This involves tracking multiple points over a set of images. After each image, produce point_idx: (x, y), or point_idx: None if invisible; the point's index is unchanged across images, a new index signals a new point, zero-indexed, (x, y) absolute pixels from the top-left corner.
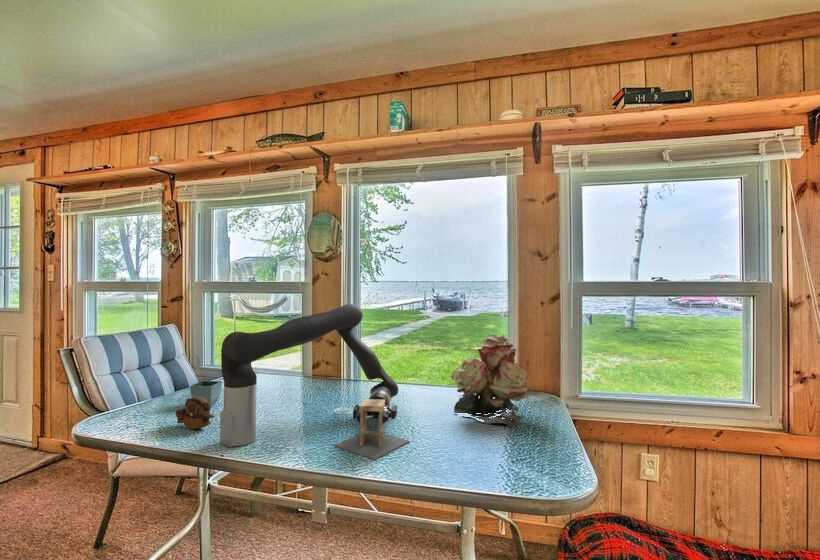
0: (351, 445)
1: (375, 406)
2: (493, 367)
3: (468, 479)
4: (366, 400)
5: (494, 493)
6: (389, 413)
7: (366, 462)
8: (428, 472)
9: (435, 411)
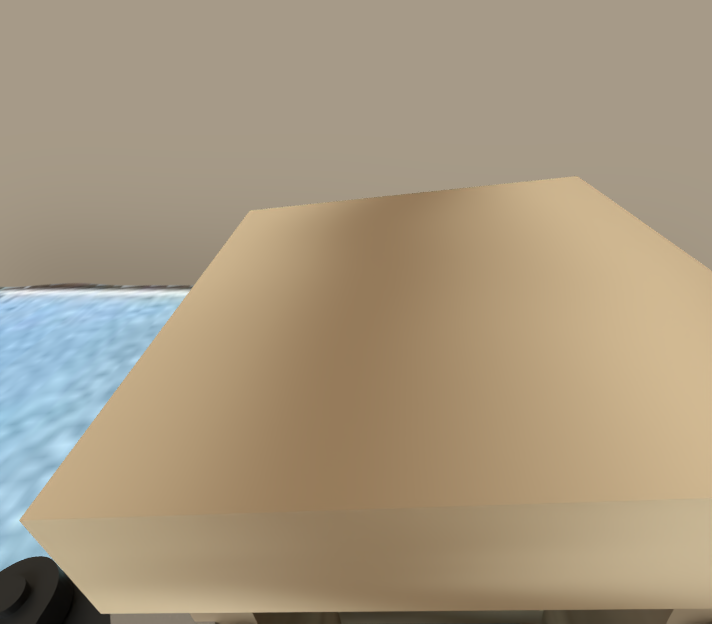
0: None
1: (344, 204)
2: None
3: (43, 327)
4: (690, 358)
5: (35, 291)
6: None
7: None
8: (149, 342)
9: None
